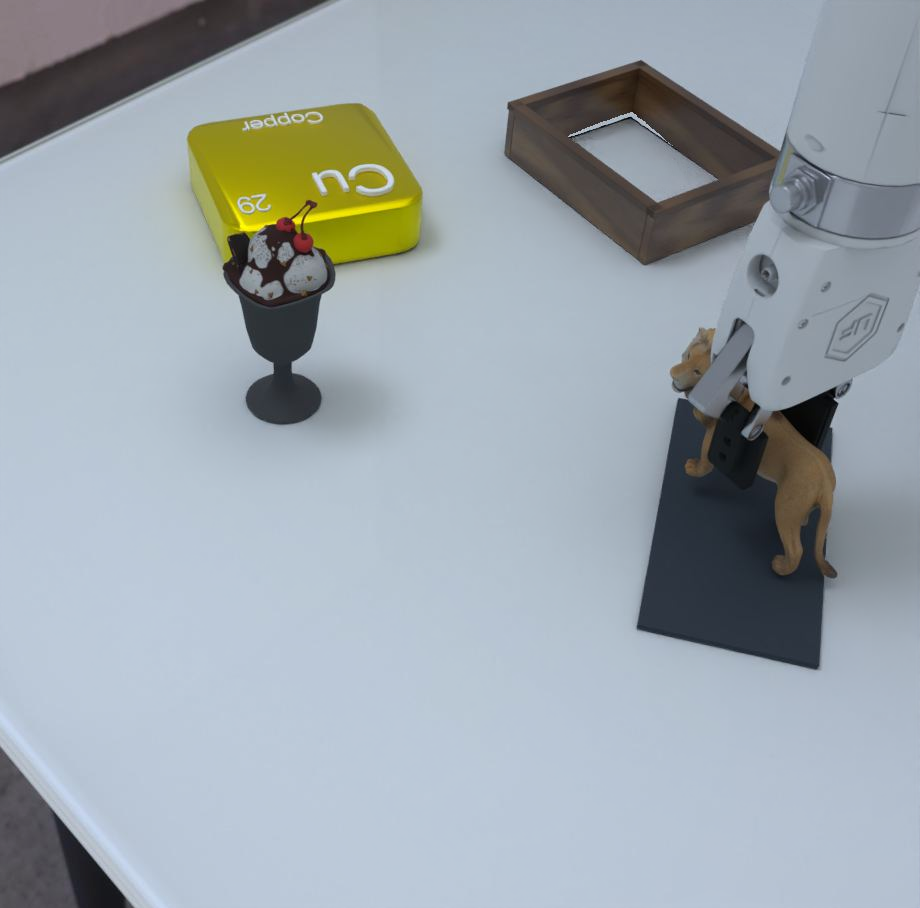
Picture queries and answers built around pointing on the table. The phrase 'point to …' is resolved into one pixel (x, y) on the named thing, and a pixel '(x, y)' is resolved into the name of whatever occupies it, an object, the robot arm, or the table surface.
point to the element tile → (308, 180)
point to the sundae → (280, 311)
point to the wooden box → (613, 197)
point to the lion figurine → (770, 464)
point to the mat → (728, 562)
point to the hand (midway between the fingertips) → (763, 454)
